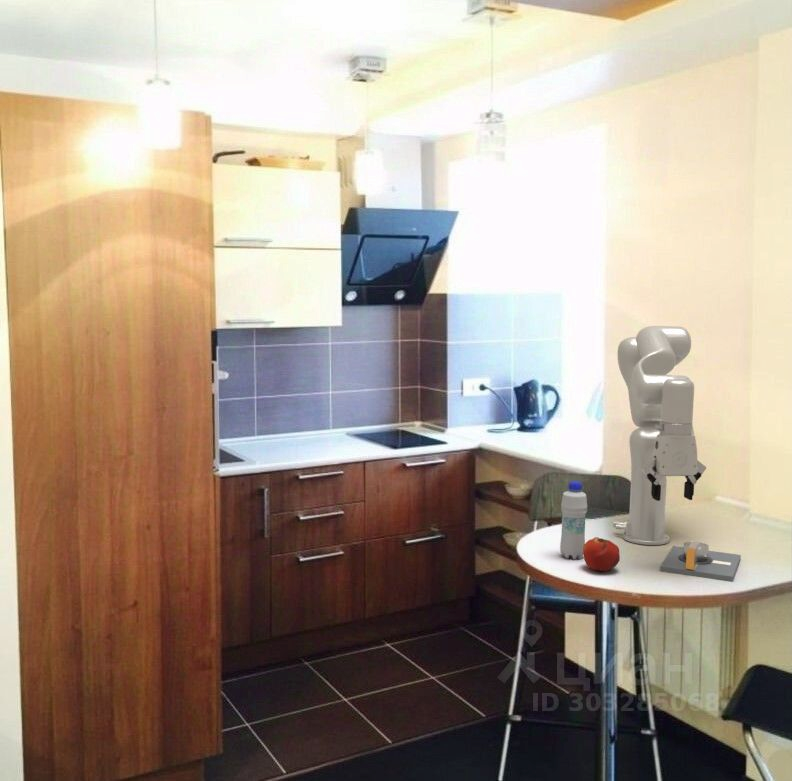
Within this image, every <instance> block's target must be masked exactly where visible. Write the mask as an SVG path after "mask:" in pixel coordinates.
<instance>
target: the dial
mask: <svg viewBox="0 0 792 781" xmlns="http://www.w3.org/2000/svg"><path fill="white" fill-rule="evenodd" d="M683 547H684V550H683V558H684V559H686V569H691V570H694V568H695V566H696V564H697V562H705V561H708V551H709V549H710V547H709V545H708V544H707V543H705V542H704V543H703V542H700V541H687V542H684V543H683Z"/></svg>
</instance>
